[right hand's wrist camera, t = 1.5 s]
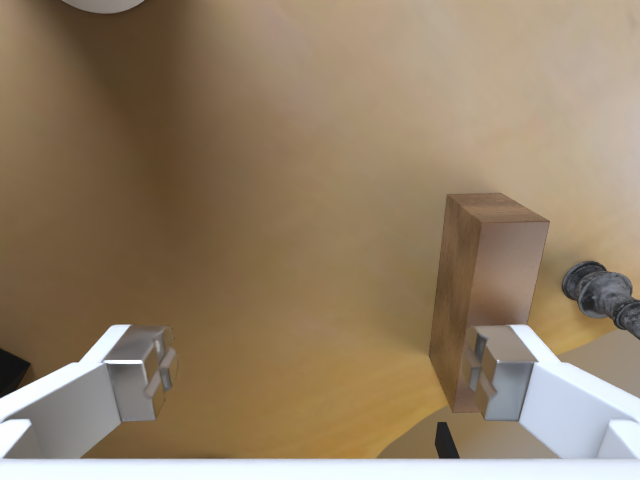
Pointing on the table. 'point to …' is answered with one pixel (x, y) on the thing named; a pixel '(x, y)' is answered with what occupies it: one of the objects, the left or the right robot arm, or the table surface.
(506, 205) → the box
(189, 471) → the right robot arm
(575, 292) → the grey chess piece
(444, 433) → the left robot arm
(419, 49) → the table surface
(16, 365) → the black computer tower
